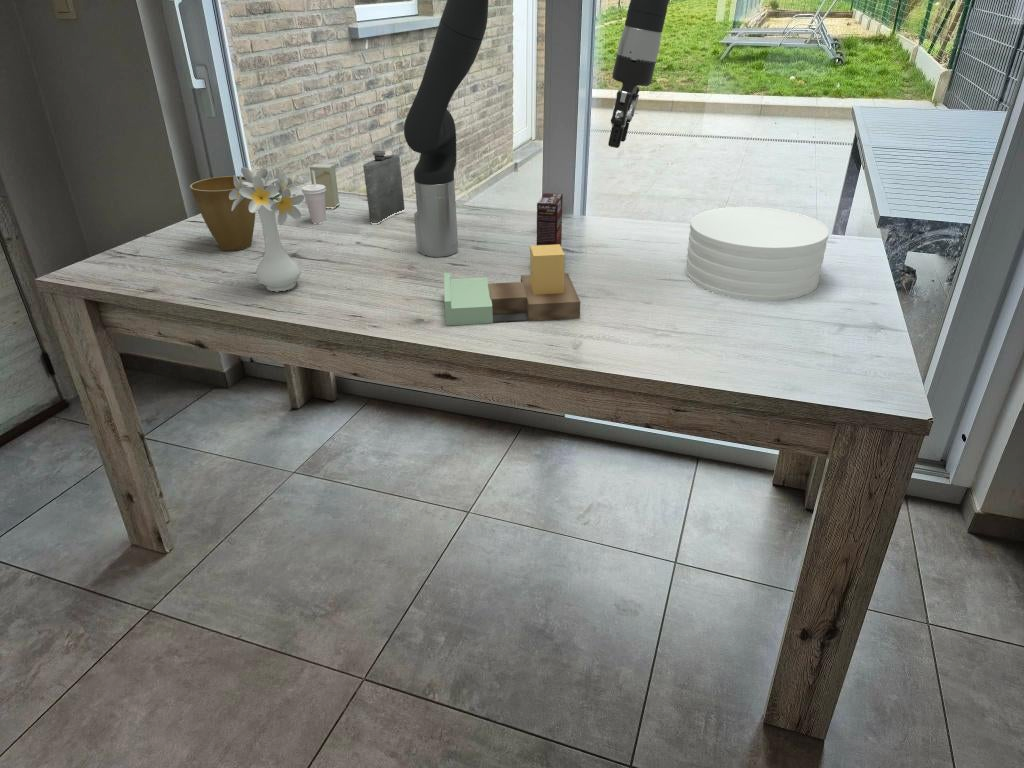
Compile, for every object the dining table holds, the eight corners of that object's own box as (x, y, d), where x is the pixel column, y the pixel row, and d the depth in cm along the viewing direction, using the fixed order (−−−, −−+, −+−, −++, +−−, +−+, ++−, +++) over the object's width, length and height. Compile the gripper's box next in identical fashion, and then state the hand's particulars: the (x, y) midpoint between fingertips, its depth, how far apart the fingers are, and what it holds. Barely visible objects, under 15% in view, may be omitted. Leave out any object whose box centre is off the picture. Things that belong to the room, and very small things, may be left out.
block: (559, 281, 144) (559, 244, 140) (563, 293, 139) (564, 254, 135) (530, 283, 144) (530, 245, 140) (533, 294, 138) (533, 256, 134)
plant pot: (242, 258, 170) (228, 192, 162) (192, 252, 174) (176, 188, 166) (279, 239, 182) (267, 177, 174) (231, 234, 186) (217, 173, 178)
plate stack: (740, 311, 139) (749, 255, 133) (660, 265, 161) (664, 216, 155) (847, 287, 148) (859, 234, 142) (757, 247, 171) (765, 200, 165)
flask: (365, 223, 192) (357, 156, 183) (396, 209, 203) (389, 145, 194) (376, 225, 191) (368, 157, 182) (406, 211, 202) (400, 146, 193)
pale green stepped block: (488, 292, 149) (487, 270, 146) (492, 322, 136) (492, 299, 133) (445, 295, 148) (444, 272, 145) (446, 325, 135) (444, 301, 133)
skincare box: (314, 209, 205) (308, 166, 199) (320, 204, 209) (314, 163, 203) (335, 209, 204) (329, 167, 198) (340, 205, 208) (334, 163, 202)
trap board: (567, 288, 150) (567, 273, 148) (579, 318, 137) (580, 301, 135) (487, 292, 149) (486, 277, 147) (491, 323, 136) (491, 306, 134)
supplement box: (556, 274, 157) (557, 204, 149) (535, 273, 158) (535, 203, 150) (562, 261, 164) (563, 193, 156) (541, 260, 165) (542, 192, 157)
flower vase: (291, 306, 144) (268, 183, 132) (232, 288, 153) (205, 172, 141) (336, 285, 154) (319, 169, 141) (279, 270, 163) (257, 159, 150)
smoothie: (327, 225, 191) (319, 173, 184) (304, 226, 191) (295, 174, 184) (333, 218, 197) (325, 167, 190) (310, 218, 197) (302, 168, 190)
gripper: (622, 50, 139) (604, 135, 147) (612, 53, 127) (592, 144, 135) (659, 58, 138) (639, 142, 146) (652, 61, 126) (630, 153, 133)
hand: (616, 143), depth 140 cm, fingers open, 8 cm apart
